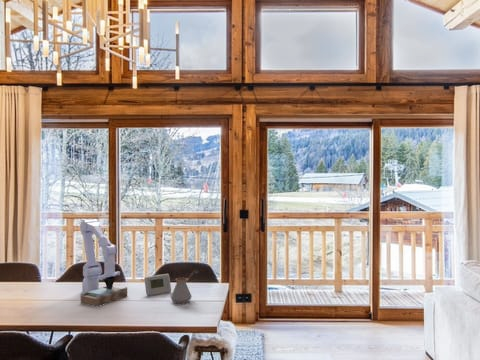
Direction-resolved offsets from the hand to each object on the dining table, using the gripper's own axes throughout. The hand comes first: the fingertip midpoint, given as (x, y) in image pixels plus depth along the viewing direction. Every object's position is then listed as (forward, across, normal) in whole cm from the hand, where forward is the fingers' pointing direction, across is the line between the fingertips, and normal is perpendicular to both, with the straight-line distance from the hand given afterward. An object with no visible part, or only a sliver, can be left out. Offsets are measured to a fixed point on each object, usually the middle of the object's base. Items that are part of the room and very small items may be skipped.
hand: (109, 289), depth 225 cm
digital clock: (+5, +21, -18) cm, 28 cm away
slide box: (+5, -4, 0) cm, 6 cm away
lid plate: (+1, -6, 0) cm, 6 cm away
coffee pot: (+5, +18, -41) cm, 45 cm away
